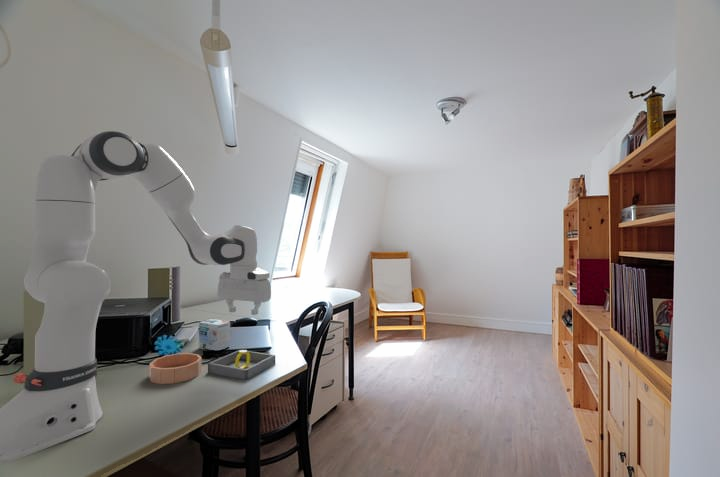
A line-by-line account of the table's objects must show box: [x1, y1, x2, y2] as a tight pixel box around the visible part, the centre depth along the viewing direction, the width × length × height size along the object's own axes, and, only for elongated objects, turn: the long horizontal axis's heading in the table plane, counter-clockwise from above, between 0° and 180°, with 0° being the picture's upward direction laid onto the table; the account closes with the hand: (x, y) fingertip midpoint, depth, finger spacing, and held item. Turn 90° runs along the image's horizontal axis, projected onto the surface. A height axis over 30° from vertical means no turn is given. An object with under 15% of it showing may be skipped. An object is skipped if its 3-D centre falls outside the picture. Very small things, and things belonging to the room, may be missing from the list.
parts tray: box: [207, 349, 276, 381], centre depth 120 cm, size 16×16×3 cm
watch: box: [234, 349, 251, 369], centre depth 120 cm, size 6×3×6 cm, turn 156°
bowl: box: [148, 352, 203, 385], centre depth 114 cm, size 15×15×4 cm
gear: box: [153, 334, 185, 357], centre depth 132 cm, size 11×6×10 cm
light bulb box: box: [198, 318, 231, 350], centre depth 142 cm, size 11×7×11 cm, turn 65°
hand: (243, 313), depth 121 cm, fingers open, 8 cm apart
